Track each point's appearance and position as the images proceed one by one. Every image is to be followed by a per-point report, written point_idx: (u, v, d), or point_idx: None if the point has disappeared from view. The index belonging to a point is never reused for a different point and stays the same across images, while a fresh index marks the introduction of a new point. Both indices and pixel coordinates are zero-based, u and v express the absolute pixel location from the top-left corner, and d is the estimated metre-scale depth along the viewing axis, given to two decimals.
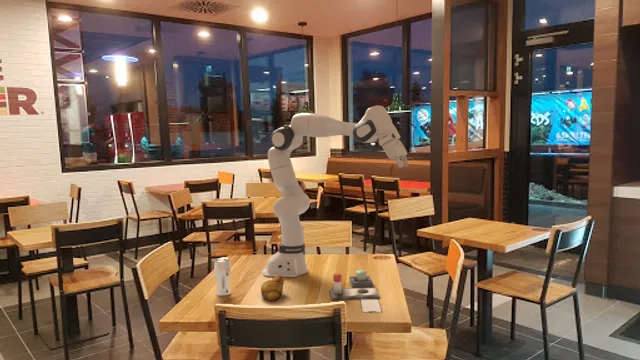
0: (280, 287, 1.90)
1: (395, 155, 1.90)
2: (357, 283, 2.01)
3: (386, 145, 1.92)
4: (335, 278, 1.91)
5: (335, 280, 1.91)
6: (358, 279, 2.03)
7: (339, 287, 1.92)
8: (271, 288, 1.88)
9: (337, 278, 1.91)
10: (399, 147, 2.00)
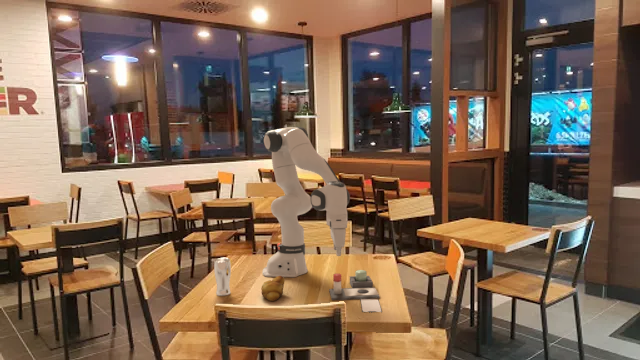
0: (280, 287, 1.90)
1: (342, 245, 1.81)
2: (357, 283, 2.01)
3: (338, 232, 1.81)
4: (335, 278, 1.91)
5: (335, 280, 1.91)
6: (358, 279, 2.03)
7: (339, 287, 1.92)
8: (271, 289, 1.87)
9: (337, 278, 1.91)
10: None
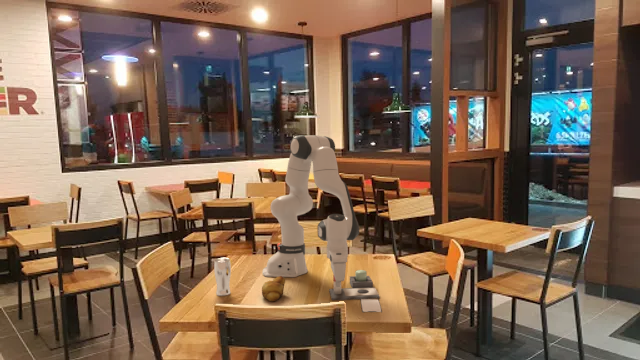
0: (281, 288, 1.90)
1: (343, 279, 1.83)
2: (357, 283, 2.01)
3: (338, 266, 1.83)
4: None
5: (335, 280, 1.91)
6: (358, 279, 2.03)
7: (339, 287, 1.92)
8: (271, 289, 1.87)
9: None
10: None
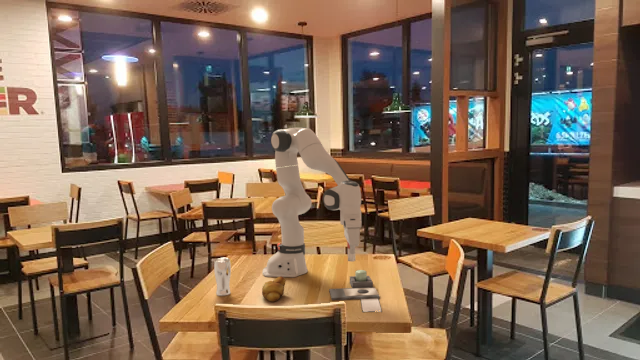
0: (281, 288, 1.89)
1: (357, 245, 1.81)
2: (357, 283, 2.01)
3: (352, 231, 1.81)
4: (349, 245, 1.90)
5: (349, 247, 1.90)
6: (358, 279, 2.03)
7: (353, 254, 1.90)
8: (271, 289, 1.87)
9: None
10: None
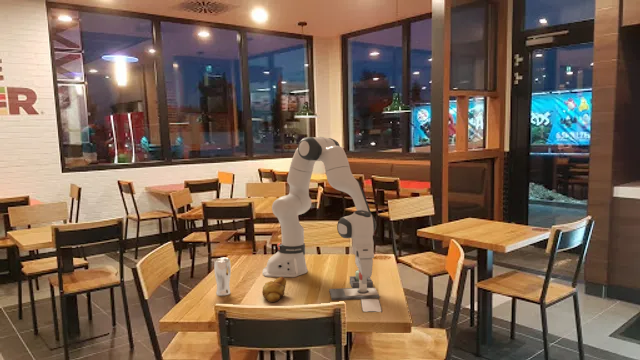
0: (281, 289, 1.89)
1: (370, 275, 1.84)
2: (357, 283, 2.01)
3: (365, 262, 1.83)
4: (361, 276, 1.92)
5: (361, 278, 1.92)
6: (358, 279, 2.03)
7: (365, 285, 1.93)
8: (271, 290, 1.86)
9: None
10: None
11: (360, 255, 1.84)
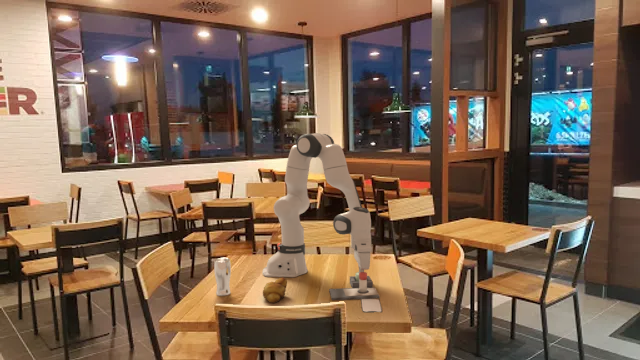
0: (281, 289, 1.88)
1: (368, 268, 1.95)
2: (357, 283, 2.01)
3: (363, 255, 1.94)
4: (361, 276, 1.92)
5: (361, 278, 1.92)
6: None
7: (365, 285, 1.93)
8: (271, 290, 1.86)
9: (363, 276, 1.92)
10: None
11: (358, 249, 1.95)
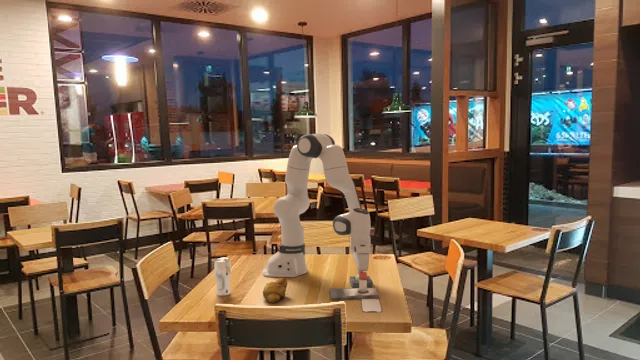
0: (281, 289, 1.87)
1: (366, 269, 1.95)
2: (357, 283, 2.01)
3: (362, 257, 1.94)
4: (361, 276, 1.92)
5: (361, 278, 1.92)
6: None
7: (365, 285, 1.93)
8: (271, 290, 1.85)
9: (363, 276, 1.92)
10: None
11: (357, 250, 1.95)
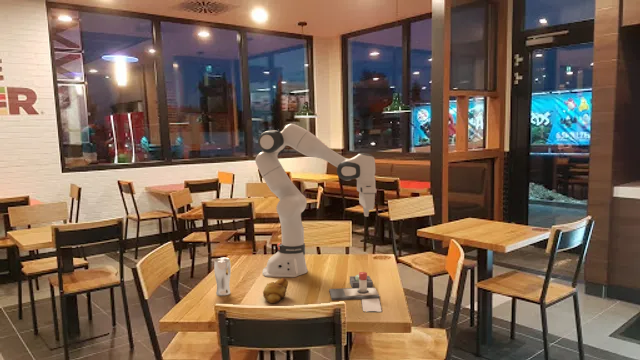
0: (282, 290, 1.87)
1: (372, 208, 2.07)
2: (357, 283, 2.01)
3: (368, 196, 2.07)
4: (361, 276, 1.92)
5: (361, 278, 1.92)
6: None
7: (365, 285, 1.93)
8: (271, 291, 1.85)
9: (363, 276, 1.92)
10: None
11: (364, 190, 2.07)
